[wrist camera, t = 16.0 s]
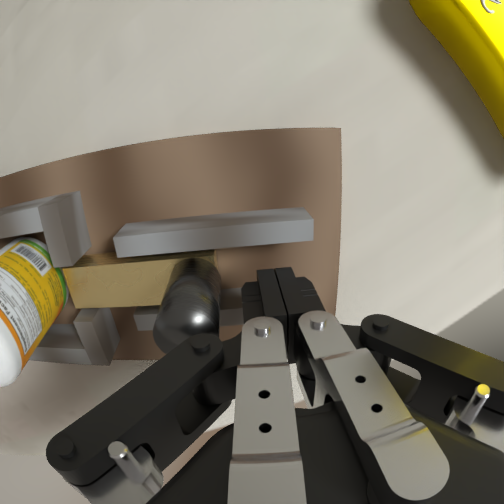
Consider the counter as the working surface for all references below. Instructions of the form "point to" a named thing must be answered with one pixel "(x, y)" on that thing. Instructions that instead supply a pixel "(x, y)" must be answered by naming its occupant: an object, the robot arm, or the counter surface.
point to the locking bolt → (154, 290)
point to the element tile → (472, 44)
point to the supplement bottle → (26, 302)
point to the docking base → (181, 223)
